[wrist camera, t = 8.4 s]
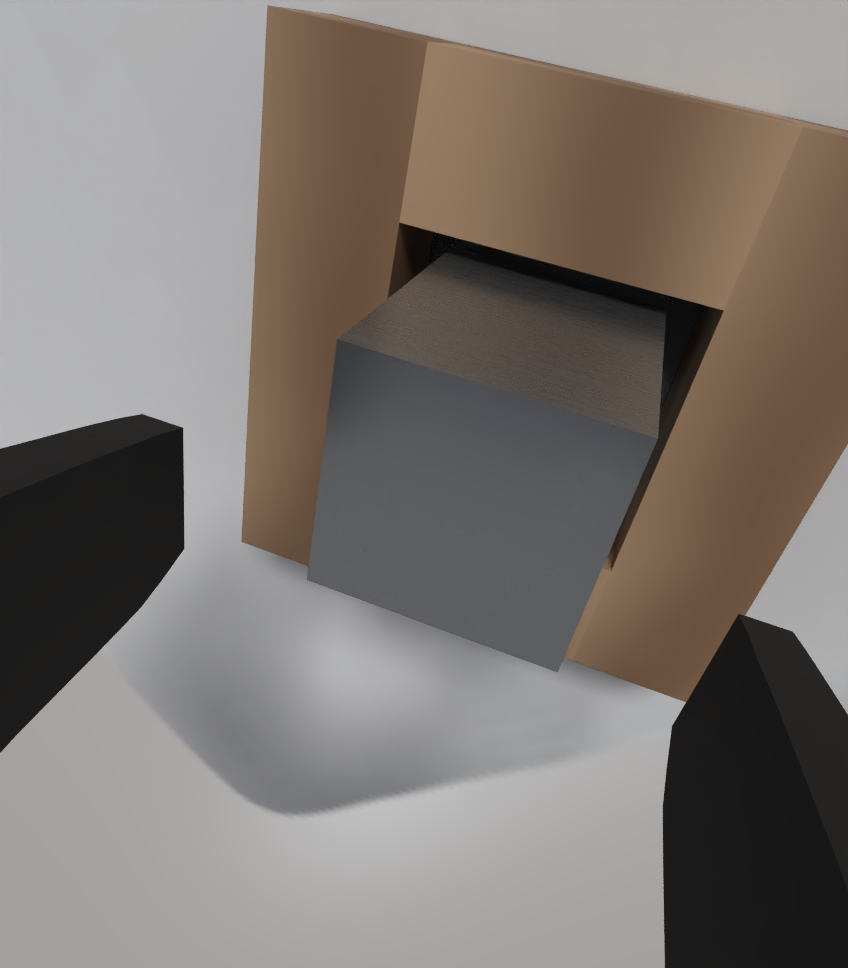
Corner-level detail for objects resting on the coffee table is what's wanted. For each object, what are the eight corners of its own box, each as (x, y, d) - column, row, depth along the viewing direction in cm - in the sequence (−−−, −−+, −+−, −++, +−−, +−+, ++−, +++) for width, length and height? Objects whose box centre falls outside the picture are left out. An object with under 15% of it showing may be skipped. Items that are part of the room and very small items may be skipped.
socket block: (288, 490, 19) (241, 541, 17) (331, 14, 13) (267, 5, 11) (690, 629, 18) (692, 704, 16) (951, 154, 12) (1009, 174, 10)
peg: (436, 401, 17) (306, 579, 11) (474, 229, 14) (337, 339, 9) (602, 454, 16) (557, 672, 10) (668, 282, 14) (658, 438, 8)
